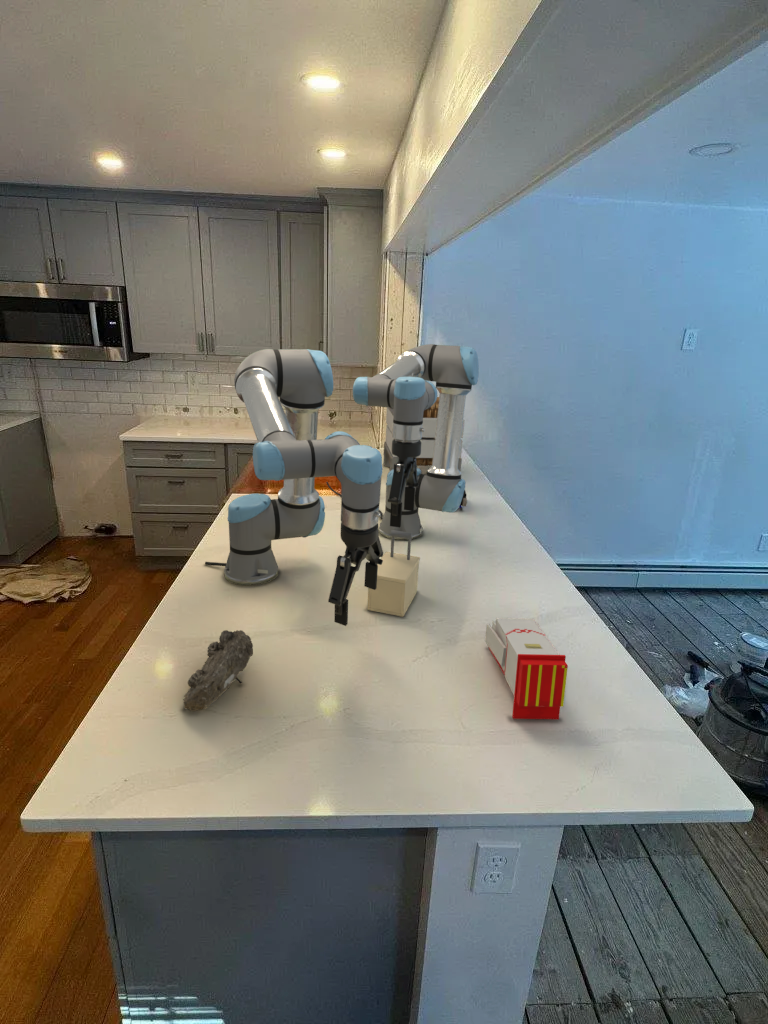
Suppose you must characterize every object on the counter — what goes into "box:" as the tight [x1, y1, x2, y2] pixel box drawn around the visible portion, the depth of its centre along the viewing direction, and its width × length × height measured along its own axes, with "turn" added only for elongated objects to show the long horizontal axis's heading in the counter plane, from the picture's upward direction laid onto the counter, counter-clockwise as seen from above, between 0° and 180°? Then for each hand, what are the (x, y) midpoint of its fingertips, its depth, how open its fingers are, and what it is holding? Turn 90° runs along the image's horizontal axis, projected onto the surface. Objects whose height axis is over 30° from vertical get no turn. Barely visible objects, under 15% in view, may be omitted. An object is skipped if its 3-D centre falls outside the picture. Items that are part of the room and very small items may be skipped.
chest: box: [367, 561, 420, 618], centre depth 152 cm, size 15×10×10 cm
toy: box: [484, 617, 569, 720], centre depth 122 cm, size 12×13×30 cm
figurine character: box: [459, 489, 468, 511], centre depth 230 cm, size 7×8×15 cm
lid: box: [377, 530, 421, 583], centre depth 150 cm, size 15×10×9 cm, turn 163°
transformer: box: [382, 396, 465, 473], centre depth 268 cm, size 34×33×41 cm
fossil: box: [182, 629, 254, 712], centre depth 117 cm, size 22×10×15 cm
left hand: (356, 604), depth 124 cm, fingers open, 13 cm apart
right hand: (402, 517), depth 151 cm, fingers open, 13 cm apart
